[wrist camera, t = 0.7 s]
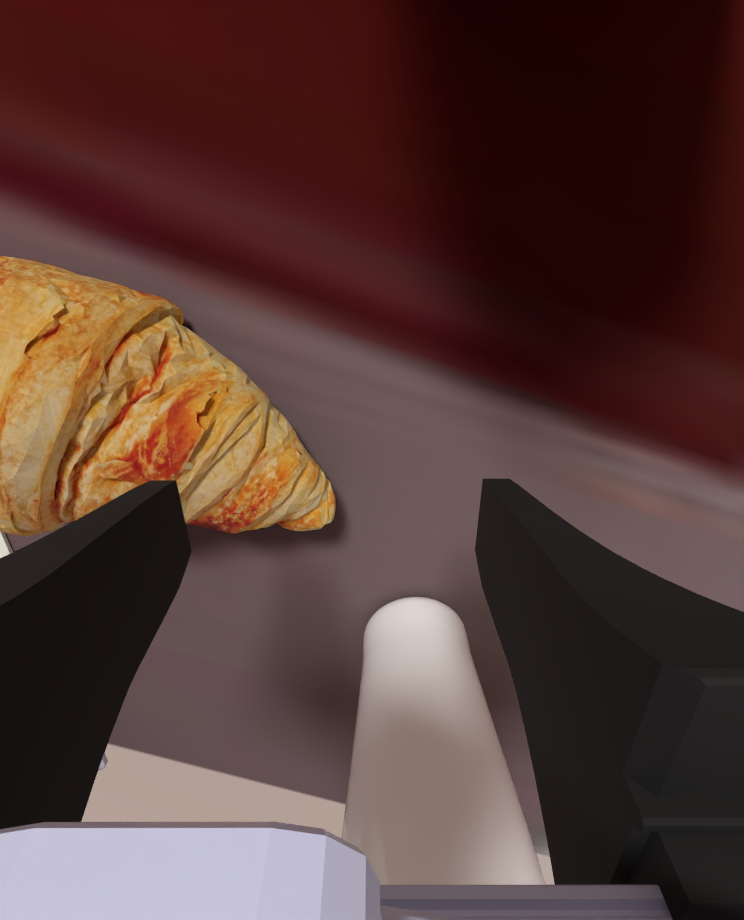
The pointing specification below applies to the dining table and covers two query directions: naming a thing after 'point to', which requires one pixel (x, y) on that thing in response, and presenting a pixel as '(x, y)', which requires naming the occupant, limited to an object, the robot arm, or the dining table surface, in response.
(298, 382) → the dining table surface
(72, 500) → the croissant
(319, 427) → the dining table surface
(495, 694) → the dining table surface
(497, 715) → the dining table surface
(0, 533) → the mat
